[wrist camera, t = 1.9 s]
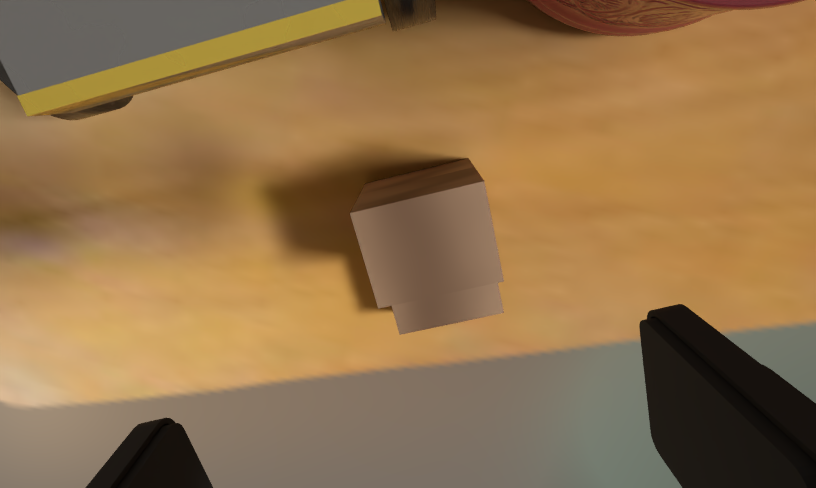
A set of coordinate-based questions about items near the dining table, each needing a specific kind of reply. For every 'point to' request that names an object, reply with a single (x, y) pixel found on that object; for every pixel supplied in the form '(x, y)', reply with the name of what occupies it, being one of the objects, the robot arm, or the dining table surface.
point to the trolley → (161, 43)
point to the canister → (642, 13)
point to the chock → (430, 246)
